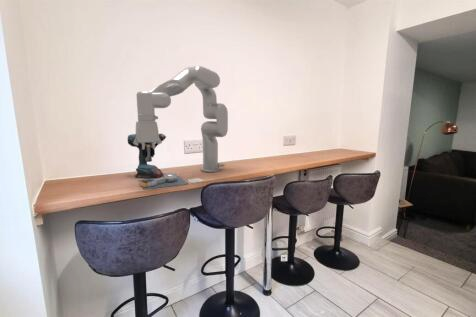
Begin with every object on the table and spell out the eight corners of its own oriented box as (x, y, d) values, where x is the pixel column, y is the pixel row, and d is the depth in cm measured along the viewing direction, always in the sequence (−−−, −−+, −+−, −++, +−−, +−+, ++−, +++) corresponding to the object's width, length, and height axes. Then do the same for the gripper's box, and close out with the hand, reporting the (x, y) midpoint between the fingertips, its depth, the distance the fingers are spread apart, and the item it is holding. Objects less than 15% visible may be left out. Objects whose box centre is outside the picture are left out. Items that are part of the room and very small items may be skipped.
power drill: (165, 178, 131) (162, 133, 127) (127, 177, 135) (123, 133, 131) (172, 175, 139) (170, 132, 135) (137, 173, 144) (133, 132, 140)
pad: (199, 178, 134) (199, 178, 133) (203, 181, 128) (203, 181, 128) (186, 180, 130) (186, 179, 130) (191, 183, 124) (191, 182, 124)
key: (150, 160, 119) (149, 144, 117) (152, 161, 117) (152, 145, 115) (144, 161, 117) (144, 144, 115) (147, 162, 115) (146, 145, 113)
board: (178, 176, 139) (178, 175, 139) (188, 184, 123) (188, 183, 123) (137, 180, 128) (137, 180, 128) (143, 189, 112) (143, 189, 112)
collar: (172, 178, 132) (172, 172, 131) (179, 180, 127) (179, 174, 127) (139, 184, 119) (138, 177, 118) (145, 187, 114) (145, 180, 113)
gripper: (162, 118, 120) (163, 154, 123) (126, 118, 112) (129, 157, 115) (165, 118, 113) (167, 156, 117) (128, 118, 105) (131, 159, 109)
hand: (148, 156), depth 116 cm, fingers closed on key, 2 cm apart
